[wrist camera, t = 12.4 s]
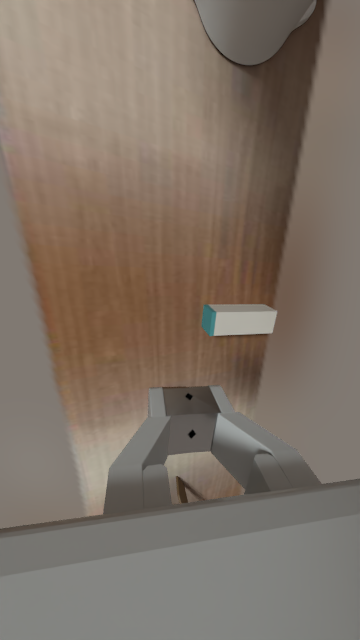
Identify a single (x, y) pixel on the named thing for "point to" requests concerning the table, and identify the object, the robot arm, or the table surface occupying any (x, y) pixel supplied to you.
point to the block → (238, 319)
